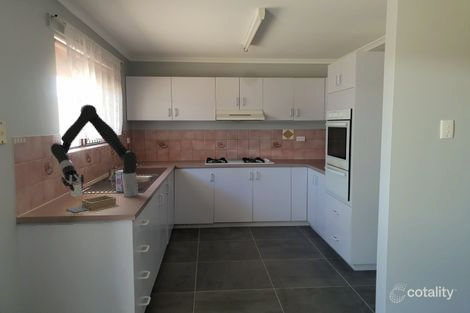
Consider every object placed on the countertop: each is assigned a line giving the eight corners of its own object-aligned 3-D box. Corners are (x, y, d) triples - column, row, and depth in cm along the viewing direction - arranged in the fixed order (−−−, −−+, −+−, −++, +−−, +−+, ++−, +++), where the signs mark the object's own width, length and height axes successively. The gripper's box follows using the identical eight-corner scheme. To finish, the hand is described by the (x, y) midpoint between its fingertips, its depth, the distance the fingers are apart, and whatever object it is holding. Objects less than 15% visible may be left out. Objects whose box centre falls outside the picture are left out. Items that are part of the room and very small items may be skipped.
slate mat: (80, 207, 216) (80, 206, 216) (89, 210, 208) (89, 209, 208) (66, 209, 209) (66, 209, 209) (74, 213, 201) (74, 212, 201)
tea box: (78, 194, 211) (77, 182, 210) (82, 195, 208) (81, 183, 207) (71, 195, 207) (70, 183, 206) (74, 196, 204) (73, 184, 203)
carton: (102, 200, 232) (102, 194, 232) (119, 205, 218) (119, 198, 218) (78, 205, 220) (78, 198, 219) (94, 211, 206) (94, 203, 205)
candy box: (122, 192, 260) (121, 171, 258) (115, 191, 261) (114, 171, 259) (132, 188, 273) (131, 168, 271) (125, 188, 274) (124, 168, 273)
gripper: (57, 166, 205) (67, 187, 198) (80, 163, 216) (90, 184, 209) (54, 173, 209) (64, 195, 202) (77, 171, 220) (87, 191, 213)
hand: (77, 189), depth 206 cm, fingers closed on tea box, 4 cm apart
